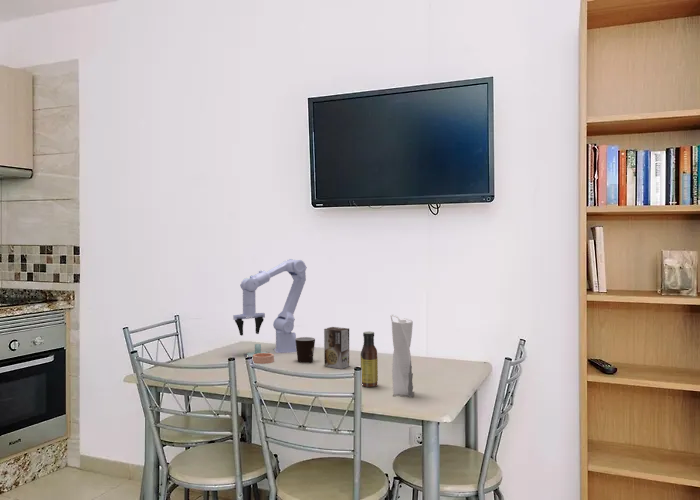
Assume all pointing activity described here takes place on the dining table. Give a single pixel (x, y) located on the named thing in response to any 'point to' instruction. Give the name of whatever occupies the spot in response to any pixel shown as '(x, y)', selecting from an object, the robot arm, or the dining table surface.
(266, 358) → the bowl
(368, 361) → the sauce bottle
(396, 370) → the skyscraper
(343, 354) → the cookie box
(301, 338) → the coffee mug
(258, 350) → the lid
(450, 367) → the dining table surface
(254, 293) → the robot arm
